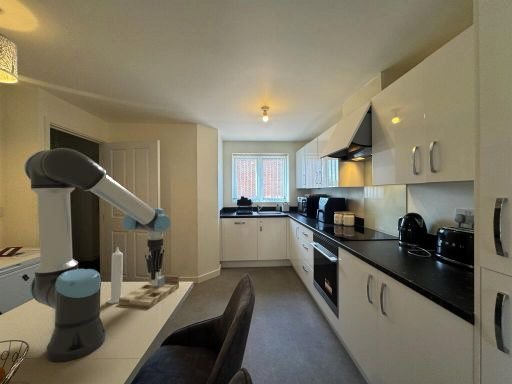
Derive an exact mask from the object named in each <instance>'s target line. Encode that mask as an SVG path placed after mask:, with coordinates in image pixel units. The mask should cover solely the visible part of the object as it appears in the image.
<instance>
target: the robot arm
mask: <svg viewBox="0 0 512 384" xmlns="http://www.w3.org/2000/svg"><path fill="white" fill-rule="evenodd" d="M24 173H25V175H26V176H27V178H28V179H29V180H30V190H31V191H32V192H34V193H36V195H37V212H38V232H39V233H38V235H39V237H38V238H39V255H40V264H39V265H38V266H37V267H36V268H35V269H34V278H33V279H32V280H31V282H30V286H29V290H30V291H29V292H30V295H31V297H32V298H33V299H34V300H35V301H36V302H38V303H39V304H42V305H44V306H47V307H49V308H52V309H53V310H55V311H54V327H53V328H54V329H53V331H52V335H51V337H50V339H49V342H48V343H47V346H46V349H45V351H46V352H45V357H46V359H47V360H48V361H50V362H54V363H55V362H56V363H57V362H60V363H61V362H68V361H72V360H76V359H79V358H82V357H84V356H87V355H89V354H90V353H93V352H94V351H96V350H97V349H98V348H100V347H101V346H102V345H103V344H104V342H105V341H106V329H105V328H104V324H103V321H102V319H101V316H100V315H101V312H100V311H101V293H102V292H101V290H102V289H101V287H102V281H101V278H102V277H101V274H100V273H99V272H98V271H97V270H95V269H92V268H87V269H85V268H79V262H78V261H77V260H75V259H74V258H73V238H72V237H73V236H72V235H73V233H72V215H71V213H72V212H71V209H72V208H71V193H72V192H73V191H74V190H75V189H76V187H77V188H79V189H81V190H82V191H84V192H88V191H90V192H91V193H93V194H94V195H96V196H98V197H99V198H101V199H102V200H104V201H105V202H107V203H108V204H110V205H112V206H113V207H114V208H116V209H118V210H120V211H121V212H123V213H124V214H126V215H124V217H123V221H122V225H123V227H124V229H125V230H127V231H136V230H140V231H147V234H146V235H147V236H146V239H147V240H146V243H147V247H148V248H149V249H148V253H147V254H145V255H144V258H145V260H146V268H147V273H149V274H150V282H151V286H157V285H158V275H159V273H160V272H161V270H162V267H163V260H164V254H165V250H164V249H163V248H162V247H163V246H164V232H166V231H168V229H169V228H170V226H171V219H170V218H171V217H170V216H169V215H166V214H165V212H164V209H163V208H160V207H159V208H158V207H156V208H155V207H153V208H152V207H151V206H149V205H148V204H146V203H145V202H144V201H142V200H141V199H140V198H138V197H137V196H136V195H135V194H133V193H132V192H130V191H129V190H128V189H126V188H125V187H124V186H122V185H121V184H120V183H119V182H117V181H116V180H114V179H113V177H110V176H109V175H108V174H107V171H106V169H105V168H104V167H102V166H100V164H99V163H97V162H95V161H94V160H93V159H92V158H90V157H88V156H86V155H85V154H83V153H81V151H80V152H79V150H78V151H77V150H75V149H72V148H68V147H67V148H66V147H57V148H54V149H48V150H47V149H45V150H41V151H37V152H36V153H33V154H32V155H30V156H29V157H27V159H26V161H25V162H24Z"/></svg>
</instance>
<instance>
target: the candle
mask: <svg viewBox="0 0 512 384" xmlns="http://www.w3.org/2000/svg"><path fill="white" fill-rule="evenodd" d="M123 263H124V253H123V252H121V251H120V249H119V246H117V247H116V249H115V252H113V253H112V254H111V272H110V273H111V276H110V277H111V278H110V279H111V280H110V285H111V286H110V297H109V298H108V299H107V303H108V304H119V298H121V297H123V296H124V295H123V270H124V269H123Z"/></svg>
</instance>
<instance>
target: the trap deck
mask: <svg viewBox="0 0 512 384" xmlns="http://www.w3.org/2000/svg"><path fill="white" fill-rule="evenodd" d="M158 276H165V285H164V286H162V287H160V288H152V287H151V281H149V282H148V283H147V282H146V283H145V284H144V285H142V286H140V287H138V288H136V289H134V290H132V291H130V292H129V293H127V294H125V295H122V296H123V297H121V298H119V303H118V305H120V306H121V305H123V306H129V307H138V308H146V309H151V308H152V307H153V306H155V305H157V304H158V303H159V302H161V301H162V300H163V299H165V298H166V297H168V296H169V295H171V294H172V293H173V292H174V291H176V290H177V289H179V288H180V276H179V275H169V274H168V275H166V274H158Z"/></svg>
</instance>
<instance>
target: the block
mask: <svg viewBox="0 0 512 384" xmlns="http://www.w3.org/2000/svg"><path fill="white" fill-rule="evenodd" d="M164 285H165V276H158V285H157V286H151V287H152V288H160V287H162V286H164Z"/></svg>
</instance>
